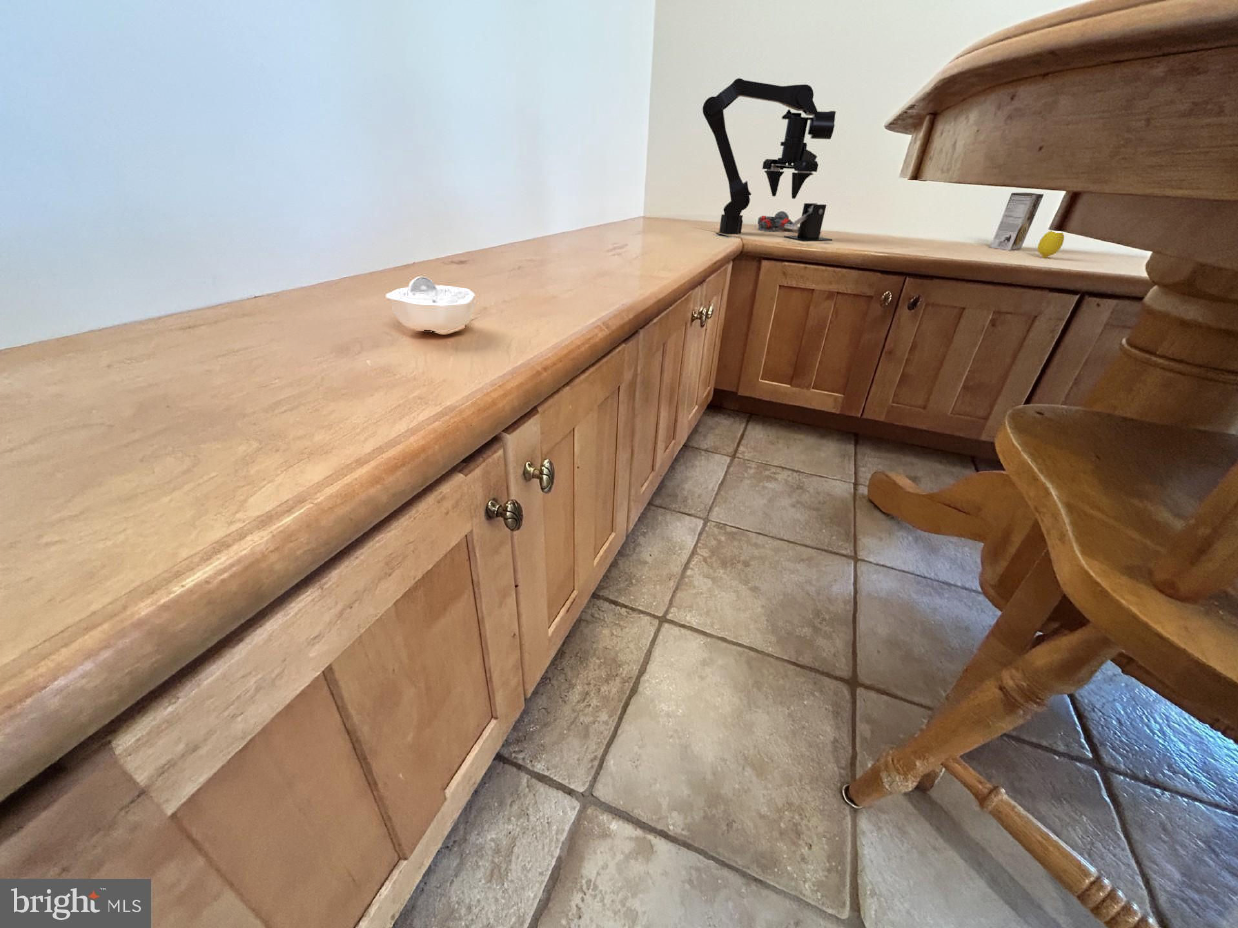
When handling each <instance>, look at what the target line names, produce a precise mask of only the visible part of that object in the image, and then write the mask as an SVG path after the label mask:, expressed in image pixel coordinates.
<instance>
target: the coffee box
mask: <svg viewBox="0 0 1238 928" xmlns="http://www.w3.org/2000/svg"><path fill="white" fill-rule="evenodd" d="M1043 197H1044V194H1043V193H1036V192H1011V194H1010V196H1009V199H1008V201H1007V203H1006V205H1005V206H1006V207H1005V210H1004V211H1003V214H1002V217H1001V219H1000V221H999V224H998V226H997V229H996V231H995V234H994V236H993V238H992V241H991V244H990V247H989V248H990V249H991V248H993V249H998V250H1007V251H1013V250H1018V249H1022V248H1023V245H1024V243H1025V240H1026V238H1027V236H1028V234H1029V230H1030V229H1031V227H1032V224H1033V221H1034V219H1035V217H1036V214H1037V212H1038V210H1039V208H1040V204H1041V202H1042V200H1043Z"/></svg>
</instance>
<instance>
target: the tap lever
mask: <svg viewBox="0 0 1238 928" xmlns="http://www.w3.org/2000/svg"><path fill="white" fill-rule="evenodd" d="M812 209H813V205H812V206H811V207H809V208H808V212H807V213H806V214H805V215H803V216H802V215H801V216H800V217H799V218H797V219H796V220H795V221H793V223H792V224H785V228H789V229H794V230H797V229H798V227H799V225H800V223H801V222H802V221H804V220H805V219H807V218H808V217H809V216H811V214H812ZM794 230H793V231H794Z"/></svg>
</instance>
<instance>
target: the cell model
mask: <svg viewBox="0 0 1238 928" xmlns="http://www.w3.org/2000/svg"><path fill="white" fill-rule="evenodd" d="M385 298H386V299H387V300H388V302H389V303H390V306H391V308H392V312H393V314H394V316H395V317H396V319H397V320H398V321H399V322H400V324H401V325H403V326H404V325H405V326H407V327H411V328H415V329H416V328H417V329H427V330H446V329H454V328H458V327H461V326H463V325H465V324H467V323H468V324H470V322H471V320H472V317H473V315H474V313H475V310H476V304H475V303H476V302H475V292H473V291H472V290H471V289H469V288H466V287H459V286H453V285H440V284H435V282H434V281H433V280H431V279H430V278H428V277H426V276H417V277H415V278H413V279H412V280H411V281H410V282H409V284H408V286H405V287H401V288H397V289H395V290H393V291H390V292H388V293H386V295H385ZM405 326H404V327H405ZM407 327H406V328H407ZM465 328H466V327H463V328H461V329H458V330H455V331H451V332H443V333H442V332H434V334H435V333H436V334H439V335H445V336H446V335H449V334H453V333H455V332H458V331H462V330H463V329H465ZM416 331H418V332H425V331H424V330H416Z"/></svg>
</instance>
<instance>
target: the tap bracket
mask: <svg viewBox="0 0 1238 928" xmlns="http://www.w3.org/2000/svg"><path fill="white" fill-rule="evenodd" d="M812 205H813V209H812V214H811V216H809V217H808V218H807V219H805V220H804V221H802V222H801V223H800V224H799V226H798V227H799V231H797V235H783V238H784V239H785V238H786V239H789V240H793V241H798V242H803V243H804V242H832V241H833V239H832V238H828V237H823V236H821V234H820V232H821V230H822V226H823V221H824V218H825V214H826V209H827V204H821V203H820V204H819V203H816V202H815V203H814V202H808V203H807V202H804V203H803V207H802V212H801V217H802V216H803V215H805V214H806V213H807V212H808V208H809V207H811V206H812Z"/></svg>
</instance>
